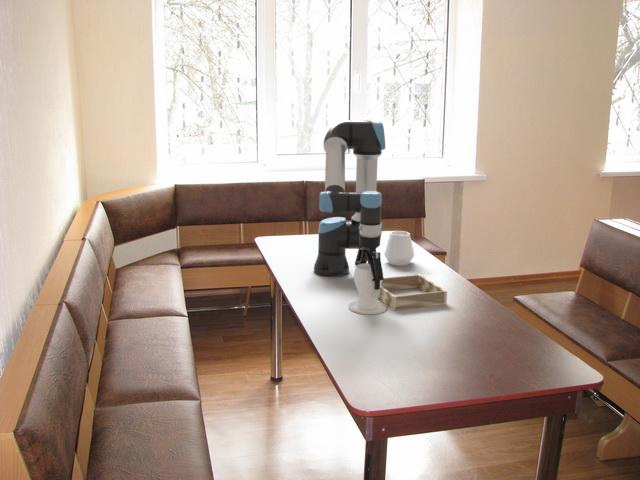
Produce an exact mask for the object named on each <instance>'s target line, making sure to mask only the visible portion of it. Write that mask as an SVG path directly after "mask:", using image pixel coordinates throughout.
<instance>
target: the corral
mask: <svg viewBox="0 0 640 480" xmlns="http://www.w3.org/2000/svg"><path fill="white" fill-rule="evenodd" d="M412 288H419V289H420V290H421V291H422V292H420V293H411V294H410V293H409V294H402V295H394V294H393V293H392V292H390V291H394V290H404V289H412ZM447 299H448V291H447V290H446V289H445V288H443V287H441V286H439V285H438V284H436V283H435V282H433V281H431V280H430V279H428V278H426V277H425V276H423V275H422V274H411V275H409V274H408V275H402V276H401V275H400V276H391V277H388V276H387V277H383V281H382V284H381V286H380V297H379V298H377V300H379V301H380V302H381V303H384V304H385V305H386V306H387V307H389V308H390V309H391V310H392V311H398V310H406V309H414V308H422V307H431V306H440V305H447V303H448V302H447Z"/></svg>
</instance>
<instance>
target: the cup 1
mask: <svg viewBox="0 0 640 480" xmlns="http://www.w3.org/2000/svg"><path fill="white" fill-rule="evenodd" d="M383 271H384V270H383V269H382V272H383ZM383 273H384V272H383ZM372 279H373V275H372V271H371V267H370V264H369V263H368V262H366V263H363V264H358V265H356V266H355V268H354V271H353V281H354V285H355V286H356V289H357V293H358V294H357V295H358V298H357V300H356V301H357V307H359V308H361V309H375V308H377V307H378V302H379V301H378V298H372ZM382 281H383V280H380V286H381V284H382Z"/></svg>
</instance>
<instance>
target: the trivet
mask: <svg viewBox="0 0 640 480" xmlns="http://www.w3.org/2000/svg"><path fill="white" fill-rule="evenodd" d="M357 301H358V300H355V301H351V302H350V303H348V310H350V311H351V312H352V313H355V314H359V315H363V316H364V315H367V316H368V315H369V316H373V315H379V314H383V313H384V312H386V311H387V309H388V308H387V307H388V306H387V305H386V304H385V303H383V302H382V301H378V307H377V308H375V309H361V308H359V307H357Z"/></svg>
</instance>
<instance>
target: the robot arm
mask: <svg viewBox="0 0 640 480" xmlns="http://www.w3.org/2000/svg"><path fill="white" fill-rule="evenodd" d="M385 149H386V136H385V128H384V124H383V122H382V121H381V120H373V119H357V120H356V119H353V120H352V119H350V120H349V119H344V120H340V121H338V122H337V123H335V124H334V125H332V126H331V128H329V130H328V131H327V132H326V134H325V136H324V140H323V151H324V152H325V172H324V176H325V177H324V191H320V192H319V199H318V200H319V202H318V203H319V204H318V207H319V211H320V212H322V213H330V214H332V213H349V214H350V213H352V214H353V215H352V216H351V219H350V221H349V220H348V221H347V219H346V217H343V216H342V217H341V216H335V217H327V218H325V219H322V220H321V221H320V222H319V224H318V243H317V245H318V248H317V249H318V250H317V252H318V253H317V257H316V259H315V262H314V265H313V272H314V274H316V275H318V276H323V277H334V278H335V277H343V276H346V275H348V274H349V273H350V266H349V263H348V259H347V256H346V255H347V254H346V249H348V250H349V249H350V250H354V249H355V250H356V249H357V252H356V257H355V262H354V265H355V267H356V265H358V264H363V263H369V264H370V267H371V271H372V275H373V279H372V298H377V299H378V298H379V297H380V280H383V278H384V272H382V270H383V266H382V261H381V260H382V259H381V252H380V251H379V252H377V249H378V247H380V246H381V239H382V232H383V230H382V229H383V222H382V205H383V198H382V196H383V195H382V193H381V192H379V191H378V190H377V185H378V181H377V180H378V161H379V160H378V158H379V157H380V156H381V155H382V151H384V150H385ZM347 150H353V151H352V152H353V153H352V154H353V155H354V156H355V158H356V168H355V169H356V171H355V172H356V174H355V192H353V191H352V192H351V191H350V192H349V191H348V192H346V152H347Z"/></svg>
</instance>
